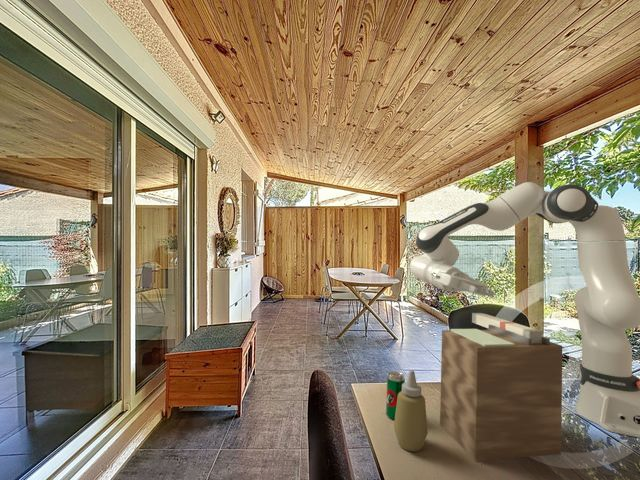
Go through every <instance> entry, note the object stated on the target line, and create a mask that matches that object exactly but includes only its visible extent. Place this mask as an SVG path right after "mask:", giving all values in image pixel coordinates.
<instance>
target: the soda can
mask: <svg viewBox="0 0 640 480" xmlns="http://www.w3.org/2000/svg"><path fill="white" fill-rule="evenodd" d="M403 383H406V379H405V376H404V374H403V373H401V372H399V371H390V372H389V373H388V375H387V377H386V400H385V401H386V405H385V406H386V408H385V414H386V416H387V417H388V418H389V419H390V420H394V421H395V413H396V405H397V397H398V394H399V392H401V391H402V384H403Z"/></svg>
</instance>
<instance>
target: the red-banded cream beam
mask: <svg viewBox="0 0 640 480" xmlns="http://www.w3.org/2000/svg"><path fill="white" fill-rule="evenodd" d="M471 323H473V324H475V325H479V326H481V327H483V328H486V329H489V325H494V326H496V327H499V328H502V329H505V330H508V331H511V332H513V333H516V334H519V335H522V336H525V337H527V338H530V339H532V343H542V336H543V331H542V330H539V329H536V328H532V327H529V326H526V325H523V324H520V323H517V322H514V321H509V320H506V319H503V318H500V317H498V316H497V317H496V316H493V315H489V314H488V313H483V312H472V313H471Z"/></svg>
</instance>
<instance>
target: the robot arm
mask: <svg viewBox="0 0 640 480" xmlns="http://www.w3.org/2000/svg"><path fill="white" fill-rule="evenodd" d="M532 215H536V216H537V217H540V218H542V219H543V220H545V221H547V222H549V223H551V224H563V223H570V225H572V227H573V228H574V231H575V233H576V247H577V248H576V249H577V258H578V259H577V260H578V268H579V270H580V272H581V273H582V276H583V279H584V282H585V285H586V286H584V287H581V288H580V289H578V290H577V291H576V292H575V294H574V297H573V301H574V304H575V308H576V312H577V320H578V325H579V329H580V337H581V363H580V365H579V373H578V375H579V379H578V380H579V383H580V387H579V391H578V392H579V393H578V398H577V400H576V403H575V405H574V411H575V412H576V413H577V414H578V415H580V416H581V417H582V418H584V419H586V420H589V421H590V422H593V423H595V424H597V425H598V426H600V427H601V428H603V429H605V430H607V431H608V432H612V433H616V434H621V435H623V436H631V437H634V438H639V439H640V378H639V377H638V376H637V375H634V374H633V348H632V344H631V343H630V341H629V338H628V336H627V333H626V330H629V329H631V330H632V329H635V328H638V327H640V295H639V293H638V291H637V288H636V285H635V282H634V279H633V276H632V274H631V271H630V267H629V261H628V253H627V252H628V251H627V244H626V235H625V229H624V226H623V222H622V219H621V216H620V213H619V212H618V210H617V209H616V208H614V207H612V206H609V205H602V204H601V205H600V204H599V203H598V202H597V200H596V199H595V198H594V197H593V196H592V195H591V193H590V192H589V191H588V190H587V189H586V188H585V187H583V186H582V185H579V184H573V183H572V184H571V183H570V184H563V185H559V186H558V187H555V188H554V189H552V190H551V191H548V190H544V189H543V188H542V187H541V186H539V185H538V184H537V183H535V182H531V181H526V182H523V183H520V184H519V185H516V186H514V187H512V188H510V189H508V190H506V191H505V192H503V193H502V194H499V196H497V197H495V198H494V199H492V200H489V201H487V202H477V203H474V204H470V205H469V206H467V207H465V208H462V209H461V210H458V211H456V212H455V213H453V214H451V215H449V216H447V217H445V218H443V219H441V220H440V221H437V222H435V223H432V224H429V225H426V226H425V227H423V228H421V229H420V230H419V232H418V233H417V234H416V240H415V245H416V246H417V248H418V249H420V250H421V252H423V254H421V255H418V256H417V255H416V256H415V257H412V258H411V260H410V263H409V269H410V272H411V274H412V275H413V276H414V277H415V278H417V279H418V280H420V281H421V282H422V281H423V282H425V283H427V284H432V285H433V286H434V287H436V288H437V289H440V290H442V291H445V292H468V293H471V294H475V295H479V296H483V297H485V296H486V297H487V296H488V297H491V298H493V297H494V296H495V291H493V290H490V289H489V288H490V286H489V285H487V284H485V283H483V282H481V281H479V280H477V279H475V278H473V277H470V275H469V274H467V273H464V272H463V271H461V270H460V269H459V268H458V267H455V266H454V265H455V264H456V263H457V261H458V259H459V255H460V251H459V249H458V247H457V246H456V245H455V244H454V243H453V241H452V240H451V239H450V238H449V236H450V235H451V234H454V233H456V232H458V231H460V230H462V229H463V228H466V227H467V226H471V225H477V226H478V225H479V226H483V227H484V228H487V229H489V230H493V231H499V232H501V231H506V230H509V229H511V228H512V227H514V226H516V225H517V224H519V223H520V222H522V221H523V220H525V219H527V218H528V217H530V216H532Z"/></svg>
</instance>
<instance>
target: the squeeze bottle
mask: <svg viewBox="0 0 640 480" xmlns="http://www.w3.org/2000/svg"><path fill="white" fill-rule="evenodd" d="M426 410H427V409H426V398H425V396H424V395H423V394H422V387H421V385H420V384H418V383H417V379H416V374H415V371H414V370H409V372H408V375H407V380H406V381H405V383H403V384H402V391H401V392H399V394H398V397H397V405H396V413H395V420H394V423H393V428H394V430H393V431H394V432H395V436H396V439H397V443H398V446H400V447H401V448H402V449H404V450H406V451H409V452H419V451H421V450H422V449H423V446H424V444H425V441H426V439H427V437H428V420H427V419H428V418H427V411H426Z"/></svg>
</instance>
